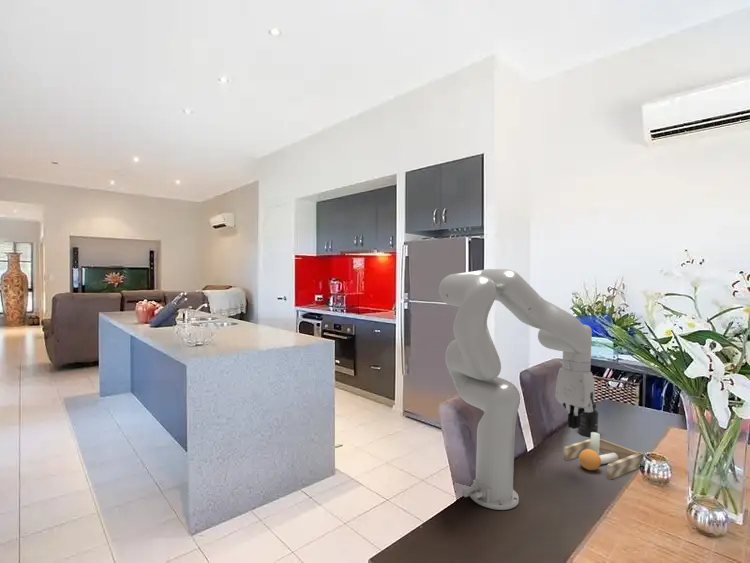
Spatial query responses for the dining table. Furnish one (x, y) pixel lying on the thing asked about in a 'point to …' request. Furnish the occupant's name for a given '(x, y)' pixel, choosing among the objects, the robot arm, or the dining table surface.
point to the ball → (589, 459)
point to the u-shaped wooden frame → (627, 456)
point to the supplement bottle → (589, 422)
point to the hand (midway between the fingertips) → (573, 427)
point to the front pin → (608, 458)
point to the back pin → (595, 442)
